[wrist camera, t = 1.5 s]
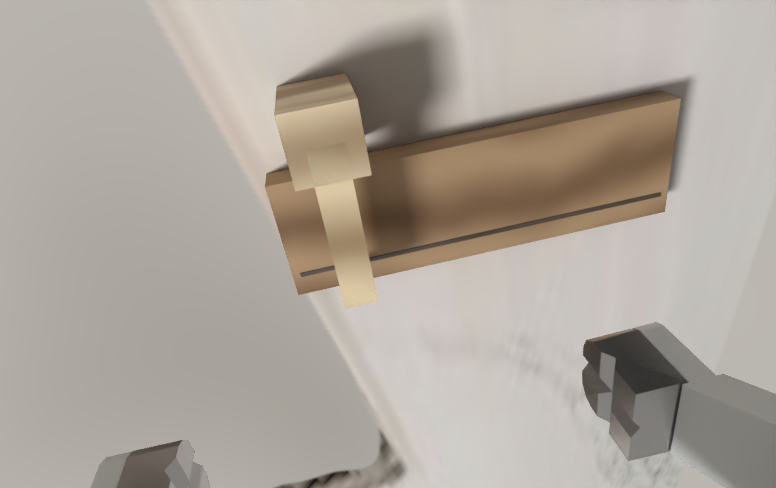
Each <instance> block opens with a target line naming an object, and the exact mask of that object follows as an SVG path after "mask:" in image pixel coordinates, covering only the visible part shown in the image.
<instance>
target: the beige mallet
mask: <svg viewBox="0 0 776 488" xmlns="http://www.w3.org/2000/svg"><path fill="white" fill-rule="evenodd" d="M274 116H275V120H276V123H277V127H278V130H279V134H280V138H281V141H282V145H283V149H284V152H285V156H286V159H287V163H288V167H289V170H290V174H291V177H292V181H293V185H294V188H295V192H296V191H300V190H305V189H310V188H314V187H315V191H316V195H317V199H318V203H319V207H320V211H321V215H322V218H323V222H324V226H325V230H326V234H327V238H328V242H329V246H330V250H331V254H332V258H333V262H334V266H335V270H336V274H337V278H338V282H339V285H340V289H341V293H342V297H343V301H344V305H345V309H347V308H351V307H355V306H360V305H364V304H368V303H373V302H377V301H378V298H377V293H376V288H375V283H374V278H373V274H372V269H371V264H370V259H369V254H368V250H367V245H366V240H365V235H364V230H363V226H362V221H361V216H360V211H359V206H358V202H357V197H356V192H355V187H354V182H353V179H356V178H361V177H366V176H370V175H372V174H371V168H370V163H369V158H368V152H367V147H366V141H365V136H364V131H363V125H362V120H361V115H360V109H359V104H358V99H357V96H356V94H355V92H354V90H353V88H352V86H351V84H350V81H349V79H348V77H347V75H346V73H342V74H337V75H332V76H327V77H322V78H317V79H312V80H306V81H301V82H296V83H291V84H286V85H281V86H277V90H276V102H275V113H274Z"/></svg>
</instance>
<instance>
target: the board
mask: <svg viewBox="0 0 776 488" xmlns="http://www.w3.org/2000/svg"><path fill="white" fill-rule="evenodd" d="M680 103H681V98H679V97H676V96H673V95H671V94H668V93H665V92H663V91H658V92H653V93H648V94H644V95H639V96H634V97H629V98H625V99H620V100H615V101H610V102H606V103H601V104H596V105H591V106H587V107H582V108H577V109H572V110H568V111H563V112H558V113H553V114H549V115H544V116H539V117H534V118H530V119H525V120H520V121H515V122H511V123H506V124H501V125H497V126H492V127H487V128H482V129H478V130H473V131H468V132H463V133H459V134H454V135H449V136H444V137H440V138H435V139H430V140H425V141H421V142H416V143H411V144H406V145H402V146H397V147H392V148H387V149H383V150H378V151H373V152H368V158H369V163H370V168H371V174H372V175H370V176H366V177H361V178H356V179H353V182H354V187H355V192H356V197H357V202H358V206H359V211H360V216H361V221H362V226H363V230H364V235H365V240H366V245H367V250H368V254H369V259H370V264H371V269H372V274H373V278H375V277H380V276H384V275H388V274H393V273H397V272H402V271H406V270H410V269H415V268H419V267H424V266H428V265H432V264H437V263H441V262H446V261H450V260H454V259H459V258H463V257H467V256H472V255H476V254H481V253H485V252H489V251H494V250H498V249H503V248H507V247H511V246H516V245H520V244H525V243H529V242H533V241H538V240H542V239H547V238H551V237H555V236H560V235H564V234H569V233H573V232H577V231H582V230H586V229H591V228H595V227H599V226H604V225H608V224H613V223H617V222H621V221H626V220H630V219H635V218H639V217H643V216H648V215H652V214H657V213H661V212H665V206H666V199H667V192H668V185H669V178H670V171H671V164H672V157H673V151H674V144H675V137H676V130H677V123H678V116H679V109H680ZM265 188H266V191H267V194H268V198H269V201H270V204H271V207H272V210H273V214H274V217H275V220H276V223H277V227H278V230H279V233H280V236H281V240H282V243H283V246H284V249H285V252H286V256H287V259H288V262H289V265H290V269H291V272H292V275H293V278H294V281H295V284H296V288H297V291H298V294H299V295H300V294H305V293H309V292H314V291H318V290H322V289H327V288H331V287H336V286H340V285H339V282H338V278H337V274H336V270H335V266H334V262H333V258H332V254H331V250H330V246H329V242H328V238H327V234H326V230H325V226H324V222H323V218H322V215H321V211H320V207H319V203H318V199H317V195H316V191H315V187H314V188H310V189H305V190H300V191H296V192H295V188H294V185H293V181H292V177H291V174H290V170H289V169H288V170H283V171H278V172H273V173H269V174H266V184H265Z"/></svg>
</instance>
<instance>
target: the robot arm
mask: <svg viewBox="0 0 776 488" xmlns="http://www.w3.org/2000/svg"><path fill="white" fill-rule="evenodd" d="M583 356H584V357H585V358H586V360H587V361H588V362H589V363H588V364H587V365H586V367H585V368H584V369H583V371H582V383H583V387H584V391H585V395H586V397H587V400H588V402H589V404H590V406H591V407H592V409H593V410H594V412H595V413H596V415H597V416H598V417H600V418H602V419H604V420H606V421H608V422H610V428H609V434H610V435H611V437H612V438H613V440H614V441H615V443H616V444H617V446H618V447H619V448H620V450H621V451H622V453H623V454H624V456H625V457H626V459H627V460H628V461H630V460H635V459H639V458H643V457H648V456H652V455H656V454H660V453H665V452H669V451H671V452H670V454H672V455H673V456H675V457H676V458H678V459H680V460H681V461H683V462H684V463H686V464H688V465H689V466H691V467H692V468H694V469H696V470H697V471H699V472H700V473H702V474H704V475H705V476H707V477H708V478H710V479H712V480H713V481H715V482H716V483H718V484H719V485H721V486H723V487H724V488H776V394H774V393H772V392H769V391H767V390H764V389H761V388H759V387H756V386H753V385H751V384H748V383H745V382H743V381H740V380H738V379H735V378H732V377H730V376H727V375H725V374H721V375H717V376H716V375H715V374H714V373H713V372H712V371H711V370H710V369H709V368H708V367H707V366H706V365H704V364H703V363H702V362H701V361H700V360H699V359H698V358H697V357H696V356H695V355H694V354H693V353H692V352H691V351H690V350H689V349H688V348H687V347H685V346H684V345H683V344H682V343H681V342H680V341H679V340H678V339H677V338H676V337H675V336H674V335H673V334H672V333H671V332H670V331H669V330H668V329H666V328H665V327H664V326H663V325H662V324H659V323H657V322H655V323H651V324H647V325H644V326H640V327H636V328H633V329H628V330H624V331H620V332H616V333H612V334H608V335H604V336H601V337H597V338H593V339H589V340H586V342H585V344H584V347H583ZM194 453H195V451H194V449H193V447H192V446H191V444H190V442H189V441H188V440H180V441H176V442H171V443H167V444H162V445H158V446H154V447H149V448H144V449H139V450H135V451H132V452H128V453H124V454H119V455H115V456H111V457H106V458H105V459H104V460H103V461H102V462H101V464H100V465H99V467H98V470H97V472H96V475H95V477H94V480H93V482H92V485H91V488H210V483H209V480H208V476H207V473H206V471H205V470H204V468H203V466H202V465H200V464H197V463H195V462H193V458H194Z"/></svg>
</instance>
